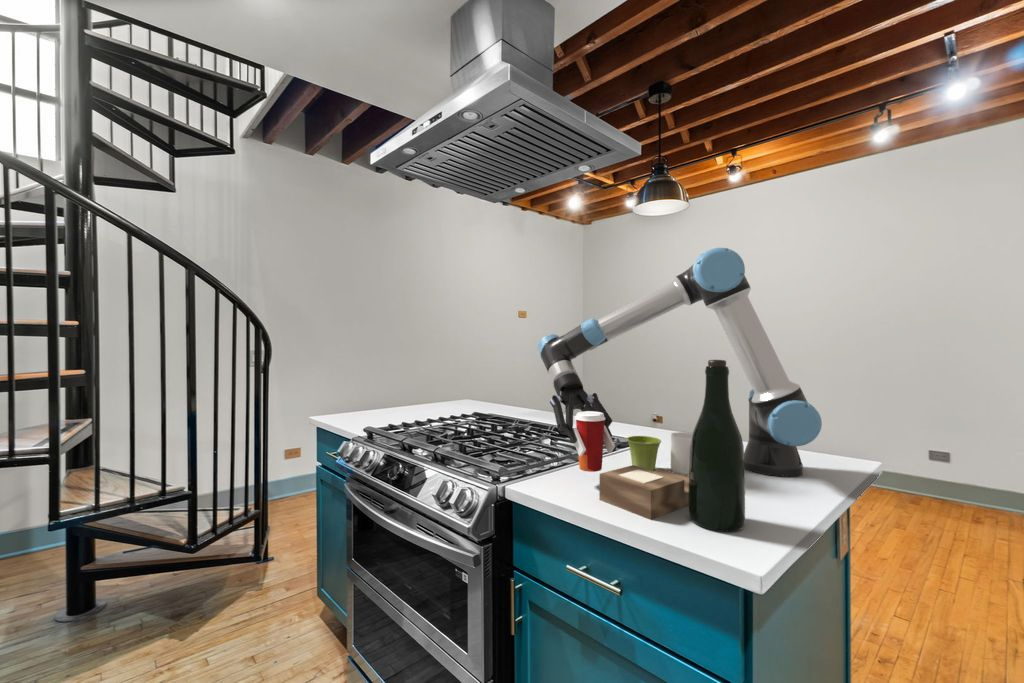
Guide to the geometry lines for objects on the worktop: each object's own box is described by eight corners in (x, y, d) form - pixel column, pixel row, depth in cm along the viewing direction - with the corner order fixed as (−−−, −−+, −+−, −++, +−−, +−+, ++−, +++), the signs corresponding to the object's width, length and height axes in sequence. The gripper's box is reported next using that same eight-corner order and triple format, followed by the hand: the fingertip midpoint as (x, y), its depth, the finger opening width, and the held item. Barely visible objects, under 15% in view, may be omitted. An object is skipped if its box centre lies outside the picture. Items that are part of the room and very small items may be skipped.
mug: (714, 480, 117) (714, 441, 117) (683, 480, 116) (684, 441, 116) (694, 467, 129) (694, 432, 129) (666, 467, 128) (666, 432, 128)
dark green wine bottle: (729, 512, 95) (730, 358, 95) (755, 533, 85) (757, 361, 84) (680, 511, 95) (681, 358, 95) (700, 533, 85) (701, 360, 85)
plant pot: (665, 474, 122) (665, 443, 122) (631, 474, 122) (631, 442, 122) (655, 465, 131) (655, 435, 131) (623, 464, 131) (623, 435, 131)
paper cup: (609, 466, 114) (608, 411, 114) (602, 474, 107) (601, 416, 107) (579, 462, 117) (579, 410, 117) (570, 470, 110) (570, 414, 110)
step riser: (662, 480, 117) (662, 456, 116) (713, 495, 105) (713, 469, 105) (599, 499, 102) (599, 472, 102) (650, 519, 91) (650, 489, 91)
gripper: (592, 387, 130) (626, 455, 115) (528, 390, 123) (555, 464, 108) (602, 370, 125) (638, 439, 110) (536, 372, 118) (565, 447, 103)
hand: (597, 451), depth 109 cm, fingers closed on paper cup, 8 cm apart
